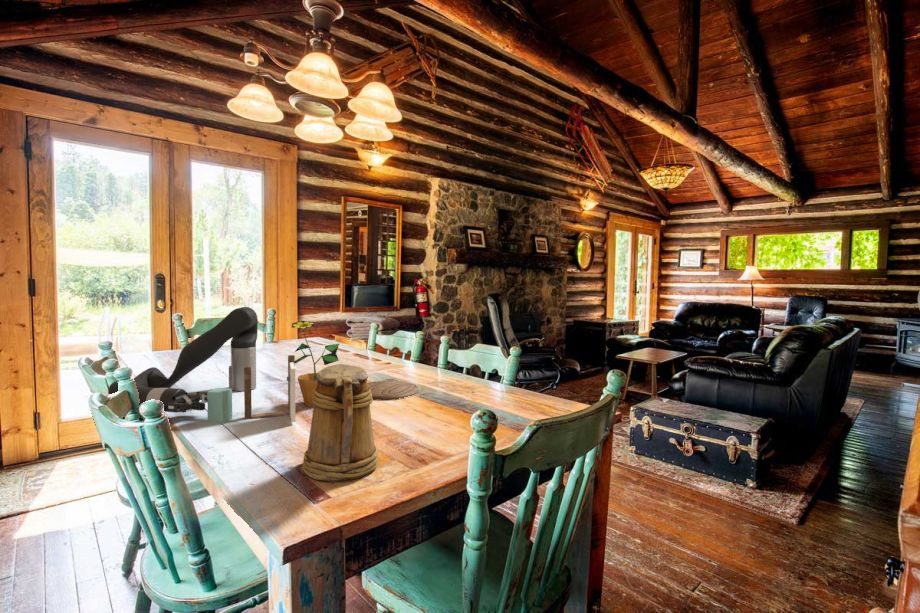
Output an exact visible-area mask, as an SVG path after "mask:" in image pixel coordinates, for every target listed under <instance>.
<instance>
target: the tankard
mask: <svg viewBox="0 0 920 613" xmlns="http://www.w3.org/2000/svg"><path fill="white" fill-rule="evenodd" d="M316 373H317V375H316V378H317V386H316V387H315V388H314V392H313V403H314V406H312V407H313V409H312V416H311V425H310V430H309V439H308V444H307V449H306V450H305V451H304V454H303V460H302V471H303V472H304V474H306V476H308V477H309V478H312V479H314V480H318V481H323V482H335V483H336V482H343V481H352V480H353V481H354V480H356V479H360V478H362V477H364V476H367V475H369V474H370V473H372V472H373V471H375V470H376V468H377V467H378V465H379V464H380V463H379V455H378V454H379V452H378V449H377V446H376V445H375V441H374V440H375V439H374V432H373V431H374V430H373V423H372V422H373V421H372V414H371V405H372V403H373V401H374V399H373V398H372V392H371V388H370V386H368V383H369V382H368V378H369V375H368V373H367V371H366V370H365V369H364V368H362V367H359V366H356V365H349V364H343V363H337V364H334V365H333V364H332V365H328V366H326V367H324V368H322V369H320V370H319V371H318V372H316Z"/></svg>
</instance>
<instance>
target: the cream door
mask: <svg viewBox="0 0 920 613" xmlns="http://www.w3.org/2000/svg"><path fill="white" fill-rule="evenodd" d="M286 381H287V382H288V381H290V415H289V416H290V421H291V422H292V423H294V422H295V423H296V365H295V366H294V362H291V363H290V376H289V377H288V376H286Z"/></svg>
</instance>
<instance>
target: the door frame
mask: <svg viewBox="0 0 920 613" xmlns="http://www.w3.org/2000/svg"><path fill="white" fill-rule="evenodd" d="M295 357H296V355H294V354H289V355H287V375H288V376H287V377H289V376H290V363H291V362H294V366H295V367H296V363H295V360H296V358H295ZM243 393H244V394H243V395H244V398H243V399H244V420H249V419H252V420H253V419H254V420H256V419H264V418H275V417H283V416H284V411H276V412H275V411H274V412H263V413H253V414H252V410H253V409H252V408H253V407H252V390H251V366H244V391H243ZM287 393H288V394H287V406H288V407H287V408H288V409H287V411H288V412H287V413H288V416H290V381H287Z"/></svg>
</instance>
